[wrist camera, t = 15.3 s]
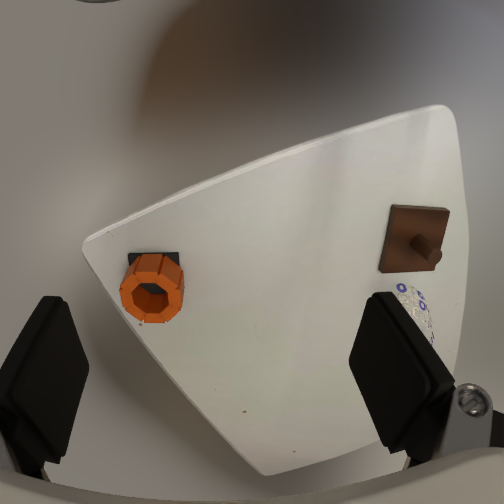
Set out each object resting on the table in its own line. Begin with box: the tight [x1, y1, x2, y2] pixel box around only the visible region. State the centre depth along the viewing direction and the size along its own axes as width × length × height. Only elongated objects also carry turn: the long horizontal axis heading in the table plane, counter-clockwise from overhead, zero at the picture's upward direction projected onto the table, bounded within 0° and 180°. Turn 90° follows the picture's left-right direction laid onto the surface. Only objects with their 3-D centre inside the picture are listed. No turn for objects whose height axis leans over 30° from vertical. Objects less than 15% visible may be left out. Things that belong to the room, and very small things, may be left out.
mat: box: [128, 252, 180, 294], centre depth 37 cm, size 6×6×1 cm
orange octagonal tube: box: [119, 254, 184, 323], centre depth 35 cm, size 7×7×4 cm
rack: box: [379, 205, 450, 273], centre depth 37 cm, size 9×9×6 cm
